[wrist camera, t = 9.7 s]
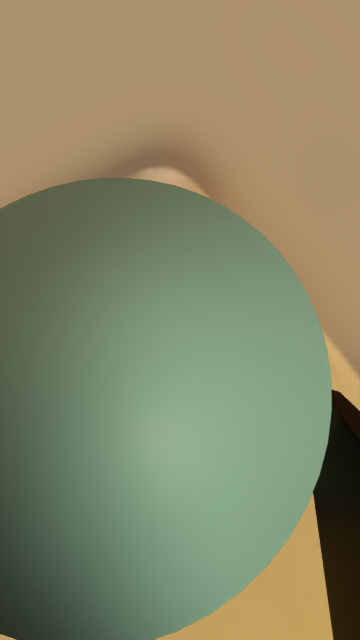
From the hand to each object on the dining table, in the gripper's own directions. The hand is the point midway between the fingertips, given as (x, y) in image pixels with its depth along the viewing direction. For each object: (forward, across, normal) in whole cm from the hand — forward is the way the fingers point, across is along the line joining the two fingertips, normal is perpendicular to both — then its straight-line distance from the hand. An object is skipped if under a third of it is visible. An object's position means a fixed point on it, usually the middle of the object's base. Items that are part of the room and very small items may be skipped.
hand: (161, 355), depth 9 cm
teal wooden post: (+5, 0, +7) cm, 9 cm away
